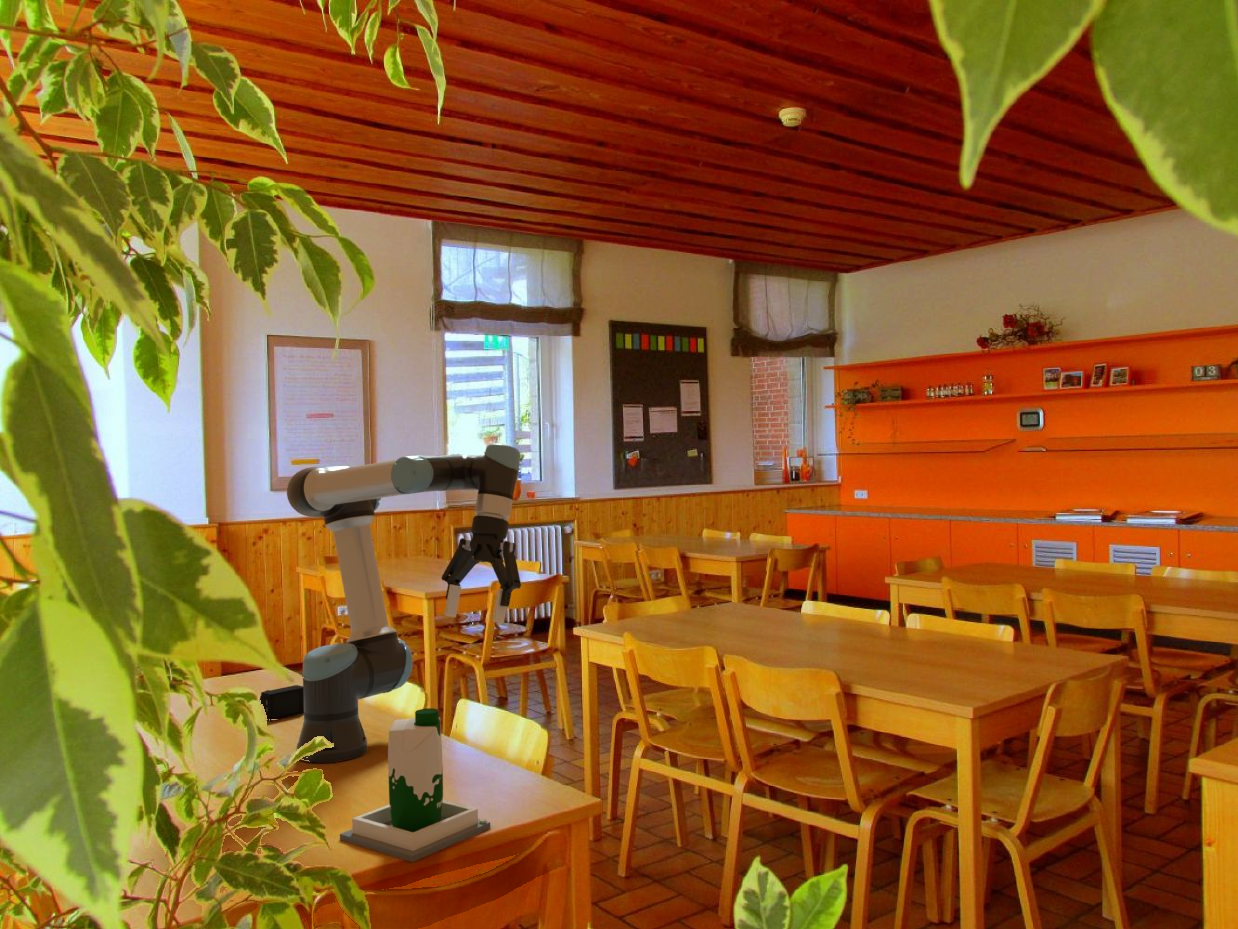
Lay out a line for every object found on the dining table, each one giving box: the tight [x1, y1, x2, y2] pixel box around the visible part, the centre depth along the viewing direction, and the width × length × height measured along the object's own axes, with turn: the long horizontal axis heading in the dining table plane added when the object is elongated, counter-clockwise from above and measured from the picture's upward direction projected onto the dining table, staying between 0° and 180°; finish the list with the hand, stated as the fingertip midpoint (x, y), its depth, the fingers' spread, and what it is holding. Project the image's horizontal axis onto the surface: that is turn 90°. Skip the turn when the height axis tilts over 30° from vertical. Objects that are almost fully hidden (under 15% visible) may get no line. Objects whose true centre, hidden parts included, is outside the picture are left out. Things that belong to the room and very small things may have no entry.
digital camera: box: [259, 684, 304, 722], centre depth 263 cm, size 10×5×7 cm, turn 140°
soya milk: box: [387, 707, 444, 832], centre depth 176 cm, size 9×9×20 cm
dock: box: [339, 799, 491, 863], centre depth 176 cm, size 18×18×4 cm
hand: (473, 619), depth 209 cm, fingers open, 13 cm apart
